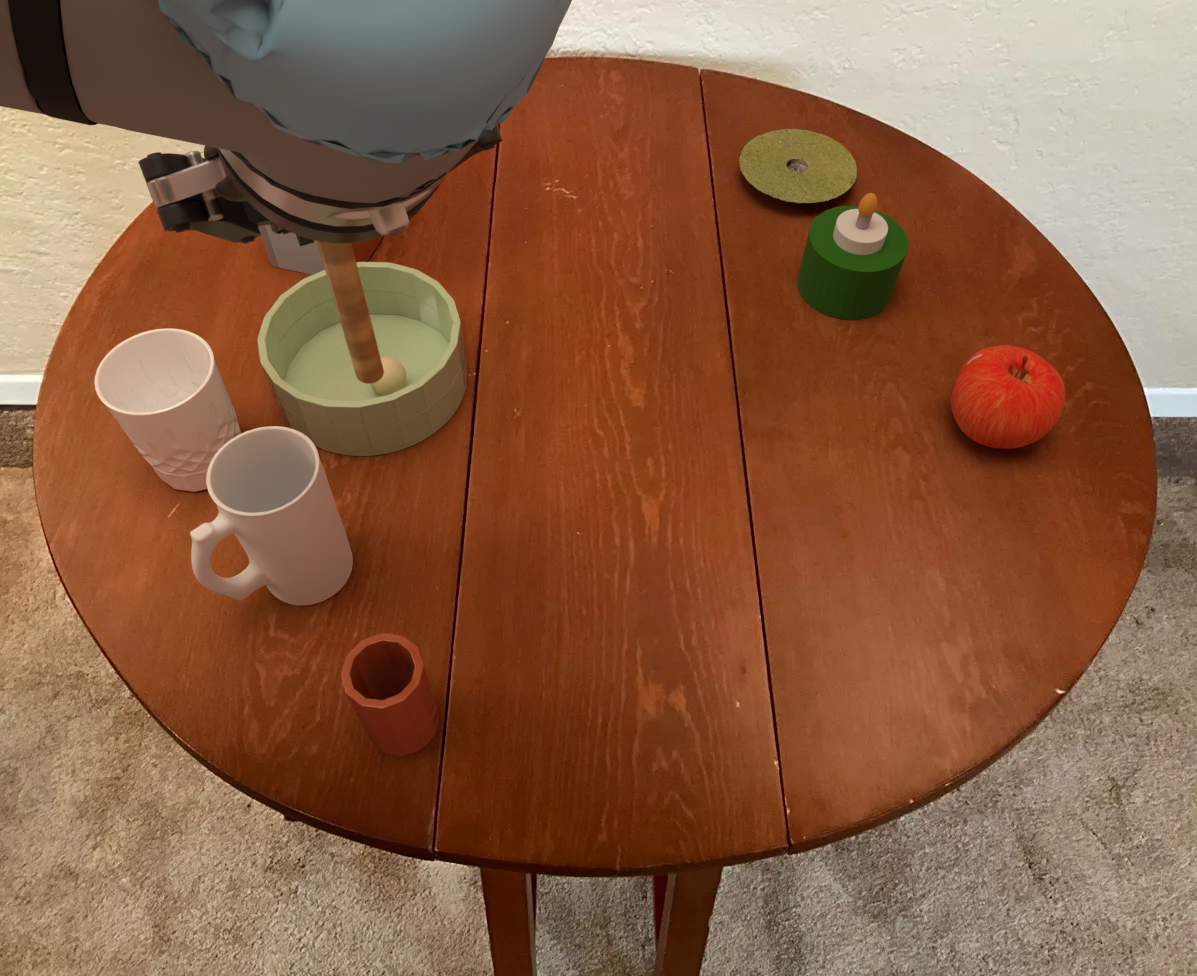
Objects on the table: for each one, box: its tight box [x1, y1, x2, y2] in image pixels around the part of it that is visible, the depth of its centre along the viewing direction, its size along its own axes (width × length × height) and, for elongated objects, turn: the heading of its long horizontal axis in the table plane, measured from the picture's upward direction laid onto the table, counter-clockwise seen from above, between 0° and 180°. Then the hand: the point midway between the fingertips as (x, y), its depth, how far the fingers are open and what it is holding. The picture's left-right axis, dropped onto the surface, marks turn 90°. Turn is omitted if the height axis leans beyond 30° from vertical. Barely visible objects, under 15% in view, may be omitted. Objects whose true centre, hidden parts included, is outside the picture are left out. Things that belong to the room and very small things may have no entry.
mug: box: [189, 425, 354, 607], centre depth 63 cm, size 10×7×12 cm, turn 138°
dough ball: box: [370, 357, 406, 395], centre depth 76 cm, size 3×3×3 cm
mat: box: [738, 128, 858, 204], centre depth 93 cm, size 11×11×2 cm
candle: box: [796, 192, 909, 321], centre depth 82 cm, size 8×8×10 cm
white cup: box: [94, 327, 243, 493], centre depth 70 cm, size 8×8×10 cm
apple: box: [950, 344, 1066, 450], centre depth 73 cm, size 8×8×8 cm
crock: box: [340, 632, 440, 757], centre depth 59 cm, size 5×5×8 cm
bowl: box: [256, 261, 468, 457], centre depth 76 cm, size 15×15×6 cm
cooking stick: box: [317, 241, 384, 384], centre depth 49 cm, size 2×2×18 cm
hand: (319, 213), depth 51 cm, fingers closed on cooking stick, 1 cm apart
